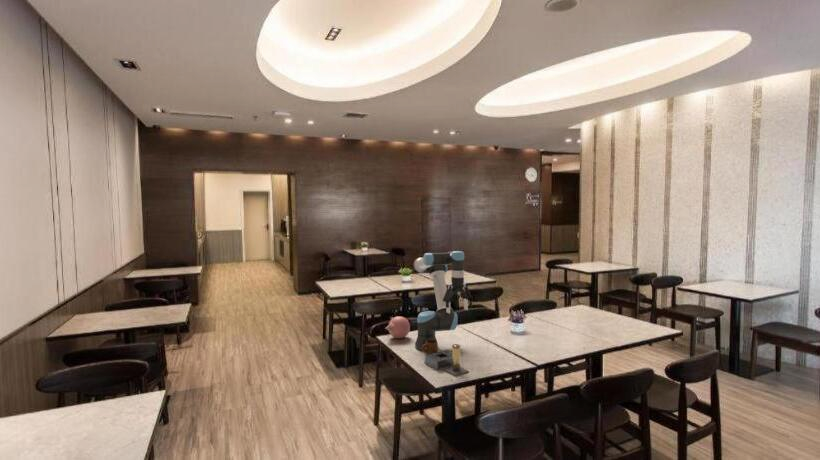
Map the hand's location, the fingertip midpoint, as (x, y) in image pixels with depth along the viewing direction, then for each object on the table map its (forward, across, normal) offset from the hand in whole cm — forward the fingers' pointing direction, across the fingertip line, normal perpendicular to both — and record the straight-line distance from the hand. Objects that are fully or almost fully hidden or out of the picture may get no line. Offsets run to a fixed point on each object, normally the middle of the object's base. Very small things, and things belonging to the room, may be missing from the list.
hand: (457, 311), depth 245 cm
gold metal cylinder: (+28, -13, -16) cm, 35 cm away
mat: (+29, -13, -16) cm, 36 cm away
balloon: (+31, -13, +51) cm, 61 cm away
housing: (+29, -14, -3) cm, 32 cm away
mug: (+30, -14, +10) cm, 34 cm away
